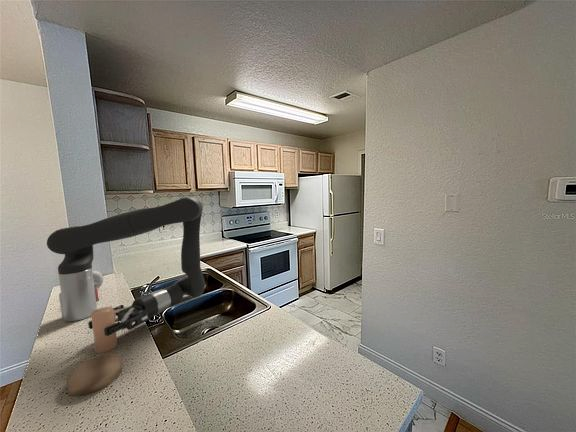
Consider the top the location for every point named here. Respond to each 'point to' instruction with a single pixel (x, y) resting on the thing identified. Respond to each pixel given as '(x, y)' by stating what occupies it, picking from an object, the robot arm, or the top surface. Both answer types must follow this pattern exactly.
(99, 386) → the brown disc
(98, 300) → the lighter
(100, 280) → the donut
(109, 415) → the top surface
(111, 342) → the tan rounded post
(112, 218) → the robot arm
